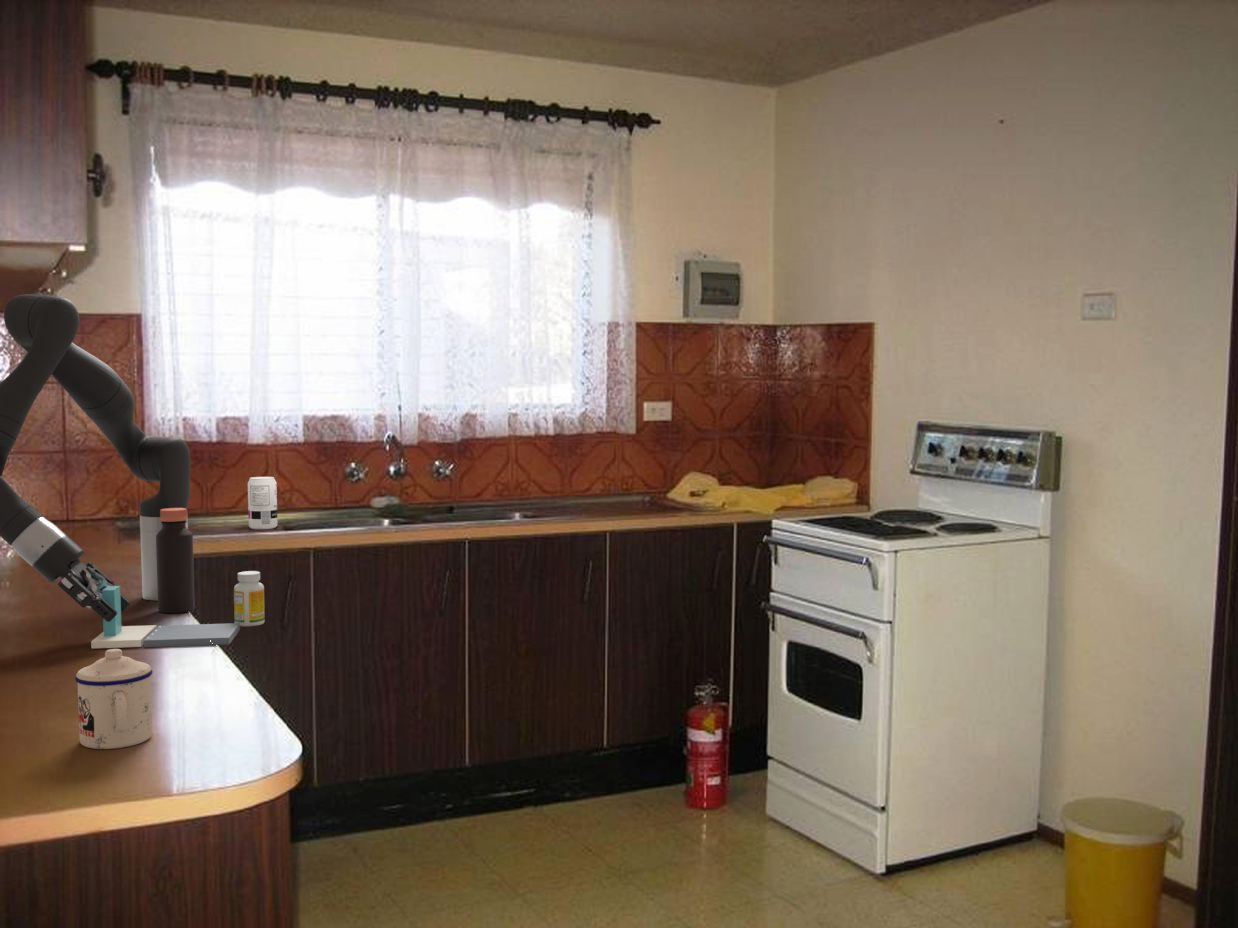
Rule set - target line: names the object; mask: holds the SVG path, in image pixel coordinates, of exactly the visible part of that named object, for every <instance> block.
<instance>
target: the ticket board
mask: <svg viewBox="0 0 1238 928" xmlns="http://www.w3.org/2000/svg"><path fill="white" fill-rule="evenodd" d="M156 627H157V628H156V629H155V630H154V631H153V632H152V633H151V634H150V635H149V636H148V637H147V638H146V639H145V640H144V644H143V647H144V648H161V647H187V646H193V647H194V646H216V645H217V646H222V645H230V644H231V643H232V641H233V640H234V638H235V637H236V636H237V635H238V633H239V632H240V630H241V626H240V623H235V622H233V623H229V622H228V623H202V624H201V623H200V624H198V623H197V624H171V625H168V624H167V625H158V626H156ZM210 640H211V642H210ZM212 643H213V644H214V645H212Z"/></svg>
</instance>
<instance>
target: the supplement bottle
mask: <svg viewBox="0 0 1238 928" xmlns="http://www.w3.org/2000/svg"><path fill="white" fill-rule="evenodd" d="M237 581H238V583H236V584H235V585H234V588H233V606H234V607H233V608H234V609H233V611H234V615H233V616H234V618H233V619H234V623H240V627H254V626H255V627H256V626H260V625H261V626H262V625H263V624H264V623H265V586H264V583H261V582H259V581H261V572H260V571H258V570H248V571H246V570H244V571H241V572H239V571H238V572H237Z"/></svg>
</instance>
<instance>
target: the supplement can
mask: <svg viewBox="0 0 1238 928" xmlns="http://www.w3.org/2000/svg"><path fill="white" fill-rule="evenodd" d="M277 487H278V483H277V481H276V479H275V477H274V476H253V477H252V476H251V477H249V479H248V481H247V506H248V507H247V509H248V511H247V512H248V514H247V515H248V527H249V528H250V529H251V530H260V531H261V530H272V529H275V528H276V527H277V526H278V524H279V523H278V495H277V494H278V488H277Z"/></svg>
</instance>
